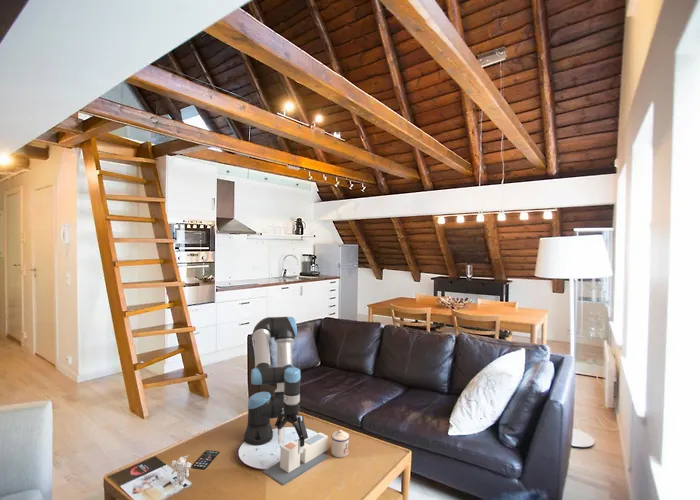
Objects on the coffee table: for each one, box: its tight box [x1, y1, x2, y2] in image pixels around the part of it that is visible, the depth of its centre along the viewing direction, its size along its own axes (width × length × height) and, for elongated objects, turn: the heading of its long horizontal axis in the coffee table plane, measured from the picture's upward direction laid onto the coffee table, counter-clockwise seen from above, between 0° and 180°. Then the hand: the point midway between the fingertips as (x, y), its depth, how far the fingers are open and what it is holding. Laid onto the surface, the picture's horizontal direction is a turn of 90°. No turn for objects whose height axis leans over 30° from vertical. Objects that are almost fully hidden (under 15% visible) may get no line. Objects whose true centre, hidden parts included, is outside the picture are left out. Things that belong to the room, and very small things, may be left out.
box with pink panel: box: [279, 440, 300, 473], centre depth 179 cm, size 6×7×10 cm
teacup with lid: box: [331, 429, 350, 458], centre depth 195 cm, size 12×9×12 cm
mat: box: [262, 452, 329, 486], centre depth 182 cm, size 14×29×1 cm, turn 141°
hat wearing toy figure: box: [170, 454, 192, 486], centre depth 166 cm, size 9×4×12 cm, turn 81°
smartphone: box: [190, 449, 220, 471], centre depth 184 cm, size 7×1×15 cm
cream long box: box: [300, 432, 329, 464], centre depth 190 cm, size 6×17×7 cm, turn 141°
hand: (290, 447), depth 178 cm, fingers open, 13 cm apart
